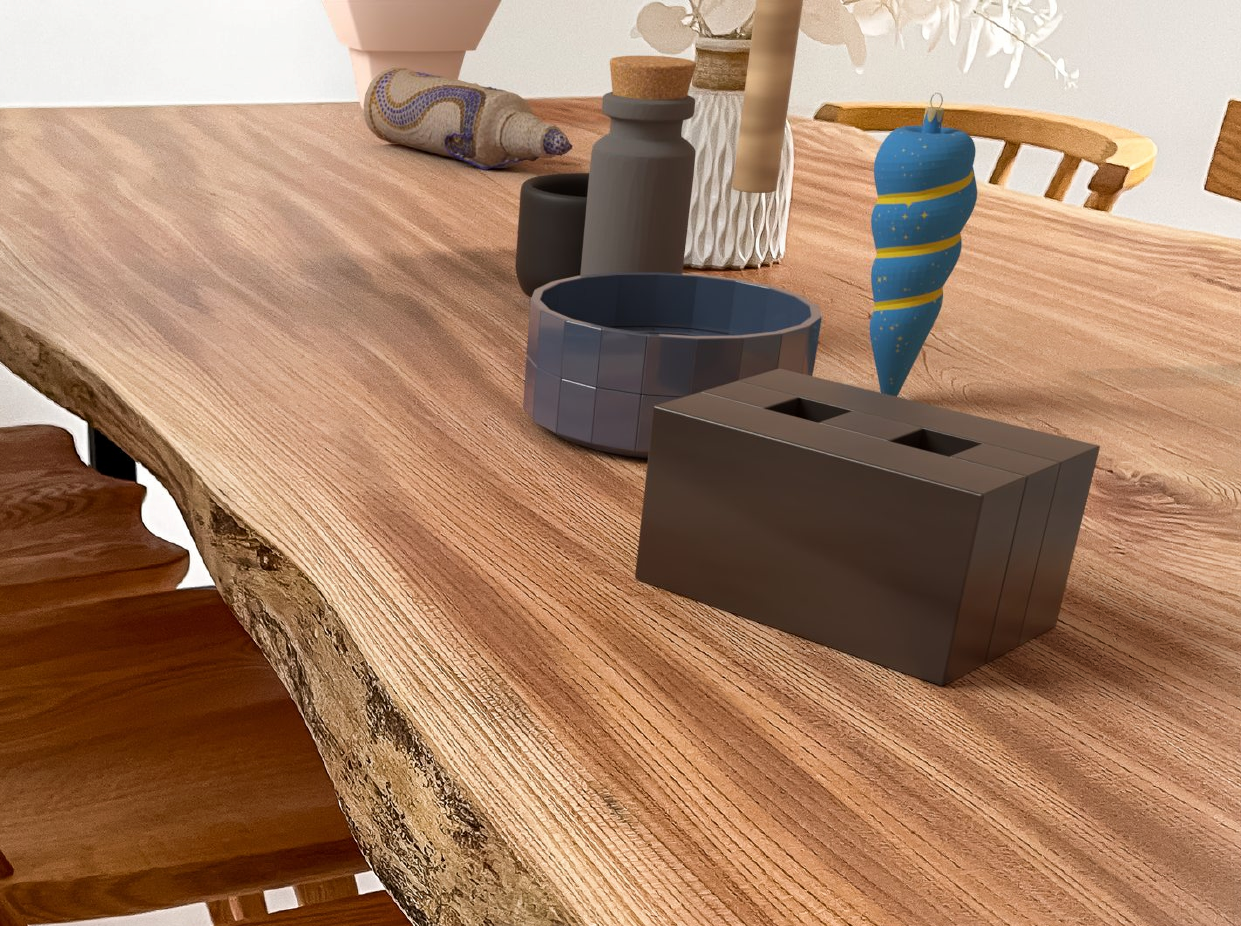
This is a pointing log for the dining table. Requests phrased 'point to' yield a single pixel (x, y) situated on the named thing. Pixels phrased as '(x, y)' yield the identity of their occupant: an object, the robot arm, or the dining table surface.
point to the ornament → (916, 236)
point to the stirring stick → (766, 95)
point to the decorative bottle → (458, 120)
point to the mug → (550, 229)
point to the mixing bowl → (652, 348)
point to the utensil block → (863, 519)
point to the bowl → (408, 34)
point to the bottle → (641, 170)
